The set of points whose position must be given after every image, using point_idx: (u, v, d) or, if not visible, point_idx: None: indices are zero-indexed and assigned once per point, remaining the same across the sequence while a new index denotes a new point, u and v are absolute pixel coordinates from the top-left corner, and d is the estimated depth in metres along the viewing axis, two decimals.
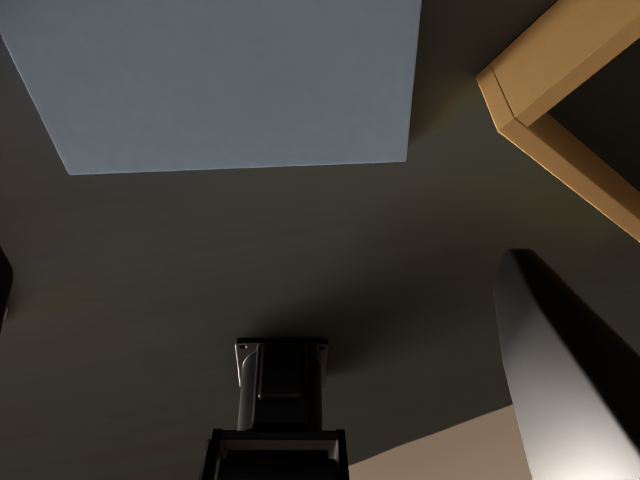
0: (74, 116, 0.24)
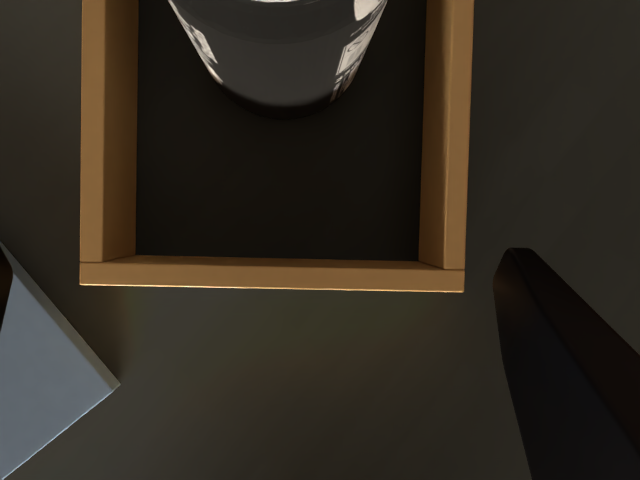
0: None
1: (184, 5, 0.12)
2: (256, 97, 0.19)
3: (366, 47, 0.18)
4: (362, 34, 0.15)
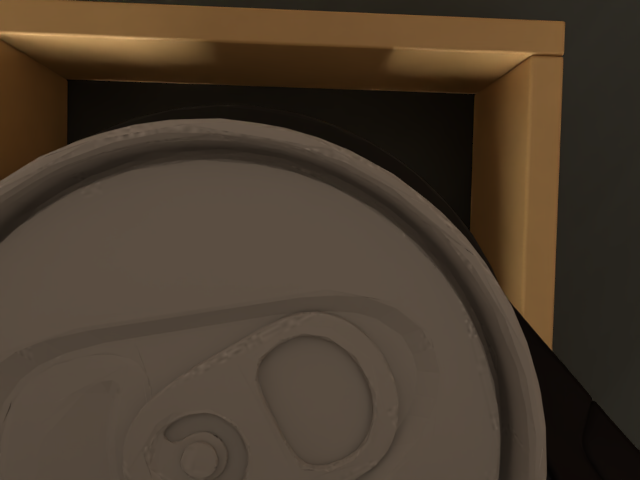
0: None
1: None
2: None
3: None
4: None
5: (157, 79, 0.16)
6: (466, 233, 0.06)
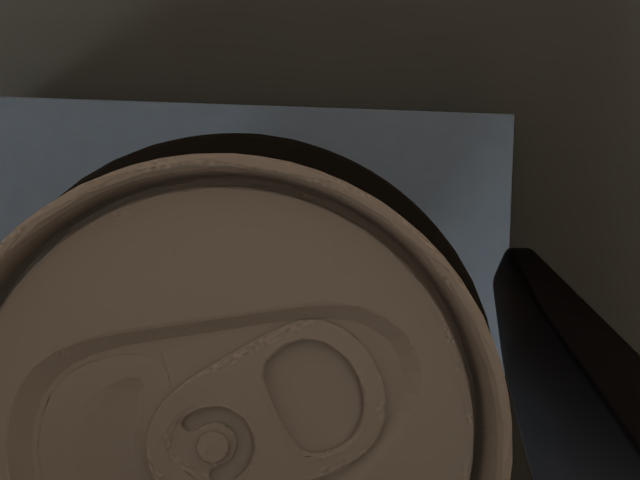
0: None
1: None
2: None
3: None
4: None
5: None
6: (448, 249, 0.07)
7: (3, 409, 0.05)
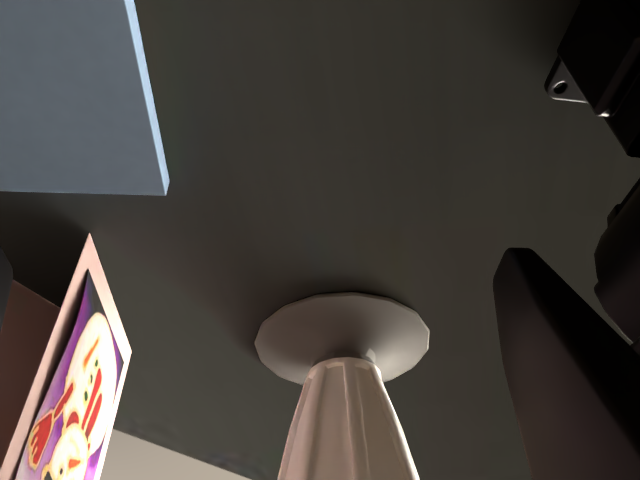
0: (85, 168, 0.24)
1: None
2: None
3: None
4: None
5: None
6: None
7: None
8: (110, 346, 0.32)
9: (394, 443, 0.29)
